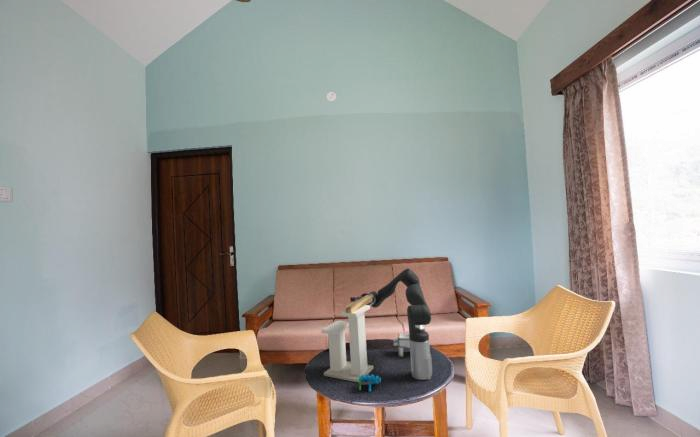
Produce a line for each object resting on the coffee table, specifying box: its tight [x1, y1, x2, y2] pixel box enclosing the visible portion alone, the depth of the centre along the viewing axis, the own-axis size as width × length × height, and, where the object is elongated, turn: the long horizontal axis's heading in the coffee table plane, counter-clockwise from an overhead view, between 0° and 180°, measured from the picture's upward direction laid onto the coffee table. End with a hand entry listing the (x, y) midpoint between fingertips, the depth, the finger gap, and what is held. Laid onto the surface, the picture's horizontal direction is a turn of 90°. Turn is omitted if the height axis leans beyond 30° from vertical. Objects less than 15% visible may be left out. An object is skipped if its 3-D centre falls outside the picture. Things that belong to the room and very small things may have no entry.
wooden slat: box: [345, 295, 372, 313], centre depth 157 cm, size 3×25×3 cm, turn 152°
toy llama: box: [393, 325, 426, 358], centre depth 172 cm, size 8×18×20 cm, turn 78°
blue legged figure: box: [356, 374, 382, 393], centre depth 136 cm, size 11×6×10 cm
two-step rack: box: [321, 305, 375, 384], centre depth 155 cm, size 20×16×32 cm
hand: (359, 299), depth 175 cm, fingers open, 8 cm apart
